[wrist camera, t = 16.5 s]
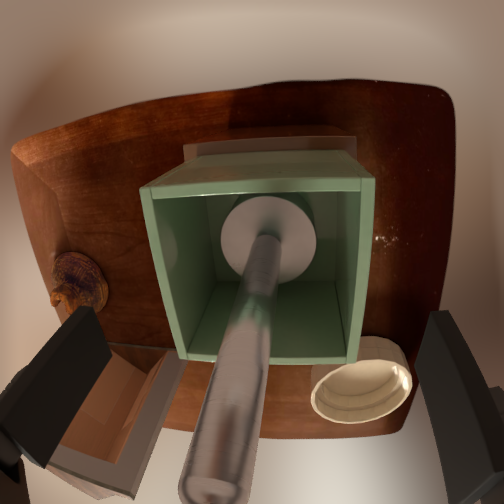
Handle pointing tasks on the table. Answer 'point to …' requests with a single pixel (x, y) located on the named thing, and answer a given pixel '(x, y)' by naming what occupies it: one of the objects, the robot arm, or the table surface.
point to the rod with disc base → (246, 343)
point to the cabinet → (119, 422)
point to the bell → (78, 283)
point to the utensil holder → (227, 280)
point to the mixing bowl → (362, 383)
